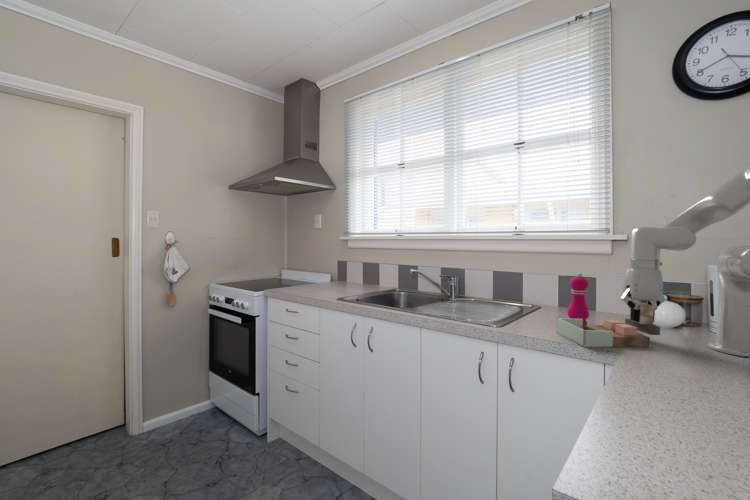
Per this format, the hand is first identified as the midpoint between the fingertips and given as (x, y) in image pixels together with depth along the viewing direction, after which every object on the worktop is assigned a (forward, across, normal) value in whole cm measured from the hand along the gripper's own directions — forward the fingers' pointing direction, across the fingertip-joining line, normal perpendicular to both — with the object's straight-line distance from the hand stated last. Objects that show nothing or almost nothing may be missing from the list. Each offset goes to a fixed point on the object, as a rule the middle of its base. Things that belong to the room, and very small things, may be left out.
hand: (642, 320), depth 113 cm
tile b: (+4, +7, -3) cm, 9 cm away
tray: (+7, +19, 0) cm, 20 cm away
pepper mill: (+7, +10, -19) cm, 22 cm away
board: (+7, +9, 0) cm, 11 cm away
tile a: (+4, +7, +3) cm, 9 cm away
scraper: (+3, 0, 0) cm, 3 cm away
